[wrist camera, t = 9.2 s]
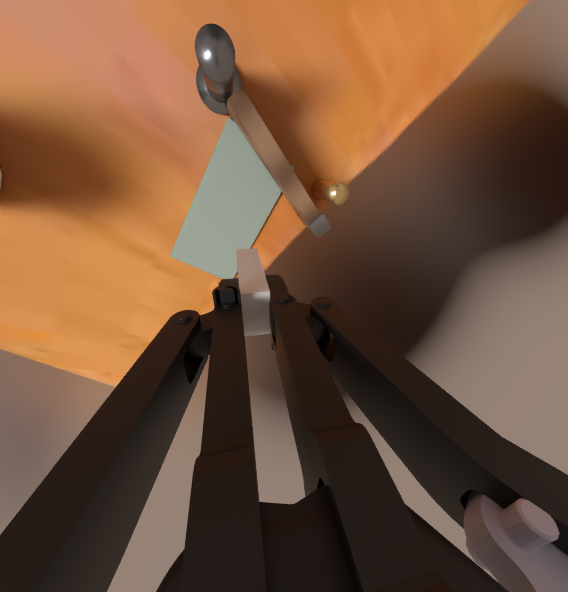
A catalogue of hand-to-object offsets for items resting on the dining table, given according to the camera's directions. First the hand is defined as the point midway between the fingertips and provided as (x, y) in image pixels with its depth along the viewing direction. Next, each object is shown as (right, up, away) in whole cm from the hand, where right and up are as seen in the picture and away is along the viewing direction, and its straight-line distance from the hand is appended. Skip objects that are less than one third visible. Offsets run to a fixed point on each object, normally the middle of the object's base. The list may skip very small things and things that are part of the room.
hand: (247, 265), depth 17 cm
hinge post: (-5, +22, +9) cm, 24 cm away
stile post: (+8, +14, +17) cm, 23 cm away
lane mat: (-5, +10, +16) cm, 19 cm away
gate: (+2, +15, +14) cm, 20 cm away
